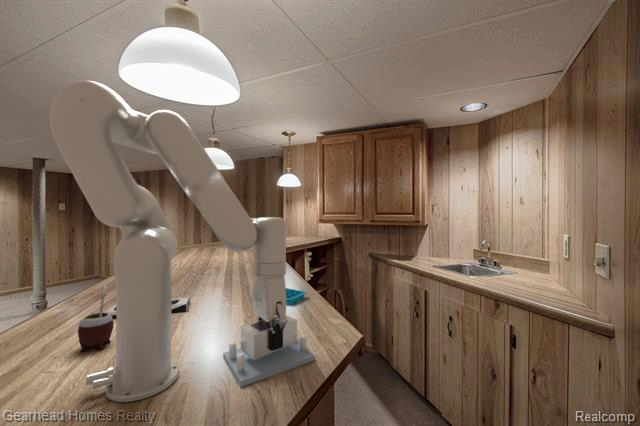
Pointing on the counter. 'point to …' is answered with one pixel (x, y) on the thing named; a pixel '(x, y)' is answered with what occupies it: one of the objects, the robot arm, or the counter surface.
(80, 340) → the mate gourd
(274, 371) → the pin tray
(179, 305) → the graphics card
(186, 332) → the counter surface
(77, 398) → the counter surface
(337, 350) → the counter surface
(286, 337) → the block
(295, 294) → the ice cube tray
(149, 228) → the robot arm
